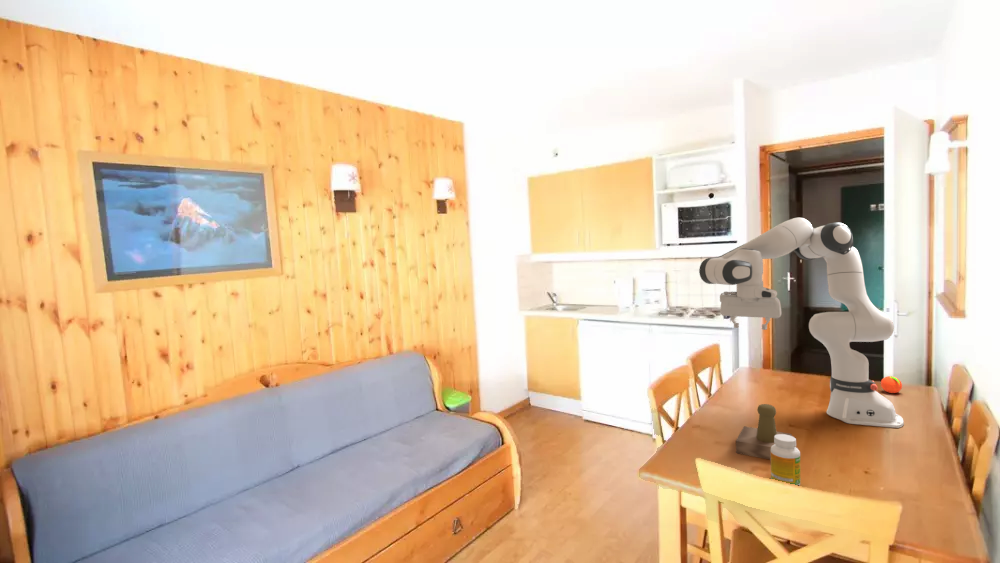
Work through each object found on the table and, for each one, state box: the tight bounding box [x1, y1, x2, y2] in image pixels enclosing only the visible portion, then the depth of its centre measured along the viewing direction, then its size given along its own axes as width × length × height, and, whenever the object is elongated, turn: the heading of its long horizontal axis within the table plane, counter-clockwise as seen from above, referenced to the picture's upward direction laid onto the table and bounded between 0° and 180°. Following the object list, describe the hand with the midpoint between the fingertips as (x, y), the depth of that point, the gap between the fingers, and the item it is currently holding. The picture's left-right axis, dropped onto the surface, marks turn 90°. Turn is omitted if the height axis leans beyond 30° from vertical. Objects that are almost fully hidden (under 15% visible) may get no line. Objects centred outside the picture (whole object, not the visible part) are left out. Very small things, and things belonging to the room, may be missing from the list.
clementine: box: [880, 375, 903, 394], centre depth 200 cm, size 8×7×7 cm
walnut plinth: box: [735, 426, 793, 461], centre depth 155 cm, size 14×14×4 cm
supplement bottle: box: [770, 434, 801, 486], centre depth 134 cm, size 7×7×13 cm
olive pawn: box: [756, 403, 778, 443], centre depth 154 cm, size 6×6×11 cm
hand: (750, 328), depth 180 cm, fingers open, 8 cm apart
